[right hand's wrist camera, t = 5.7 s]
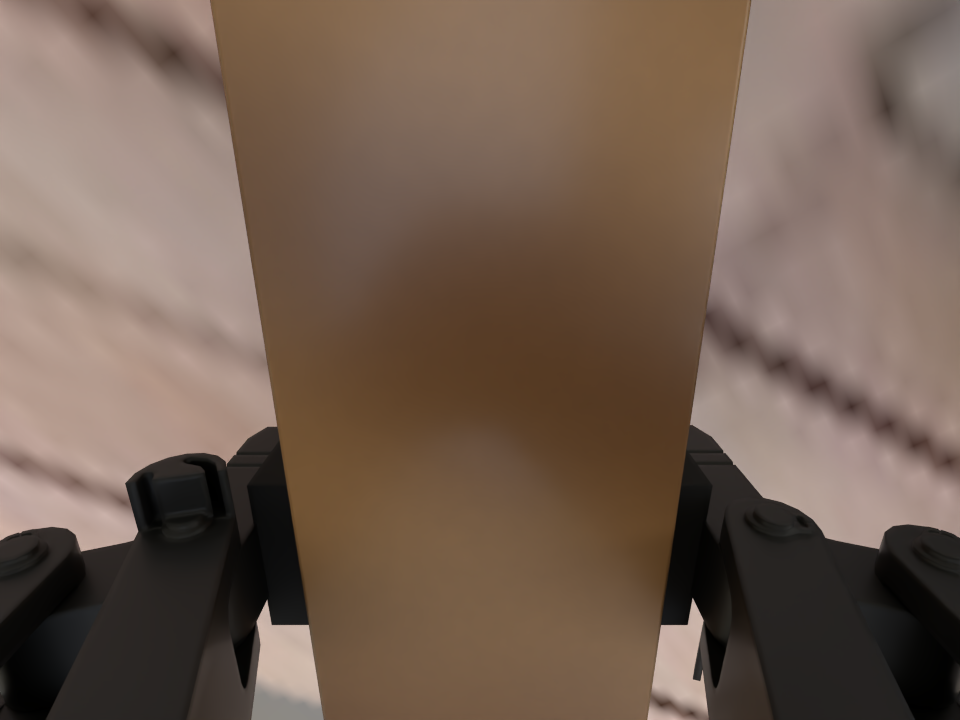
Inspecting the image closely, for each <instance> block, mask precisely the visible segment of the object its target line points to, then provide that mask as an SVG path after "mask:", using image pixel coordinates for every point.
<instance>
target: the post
mask: <svg viewBox="0 0 960 720" xmlns="http://www.w3.org/2000/svg"><path fill="white" fill-rule="evenodd" d="M210 3H211V9H212V15H213V22H214V28H215V34H216V41H217V47H218V53H219V60H220V66H221V72H222V79H223V85H224V91H225V98H226V104H227V110H228V117H229V123H230V129H231V136H232V142H233V148H234V155H235V161H236V167H237V174H238V180H239V186H240V193H241V199H242V205H243V211H244V218H245V224H246V230H247V237H248V243H249V249H250V256H251V262H252V268H253V275H254V281H255V287H256V294H257V300H258V306H259V313H260V319H261V325H262V332H263V338H264V344H265V351H266V357H267V363H268V370H269V376H270V382H271V389H272V395H273V401H274V408H275V414H276V420H277V427H278V433H279V439H280V445H281V452H282V458H283V464H284V471H285V477H286V483H287V490H288V496H289V502H290V509H291V515H292V521H293V528H294V534H295V540H296V547H297V553H298V559H299V566H300V572H301V578H302V585H303V591H304V597H305V604H306V610H307V616H308V623H309V629H310V635H311V642H312V648H313V654H314V661H315V667H316V673H317V679H318V686H319V692H320V698H321V705H322V711H323V717H324V720H647V717H648V710H649V703H650V696H651V689H652V683H653V676H654V669H655V662H656V655H657V648H658V641H659V634H660V627H661V620H662V613H663V606H664V600H665V593H666V586H667V579H668V572H669V565H670V558H671V551H672V544H673V537H674V531H675V524H676V517H677V510H678V503H679V496H680V489H681V482H682V475H683V468H684V461H685V454H686V448H687V441H688V434H689V427H690V420H691V413H692V406H693V399H694V392H695V385H696V378H697V372H698V365H699V358H700V351H701V344H702V337H703V330H704V323H705V316H706V309H707V302H708V296H709V289H710V282H711V275H712V268H713V261H714V254H715V247H716V240H717V233H718V226H719V220H720V213H721V206H722V199H723V192H724V185H725V178H726V171H727V164H728V157H729V150H730V144H731V137H732V130H733V123H734V116H735V109H736V102H737V95H738V88H739V81H740V74H741V68H742V61H743V54H744V47H745V40H746V33H747V26H748V19H749V12H750V5H751V0H210Z"/></svg>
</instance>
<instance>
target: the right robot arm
mask: <svg viewBox="0 0 960 720" xmlns="http://www.w3.org/2000/svg"><path fill="white" fill-rule="evenodd" d="M125 484H126V488H127V492H128V495H129V499H130V502H131V506H132V510H133V513H134V517H135V521H136V524H137V528H138V533H137V535H136V537H135V539H134V541H130V542H127V543H122V544H117V545H112V546H107V547H102V548H97V549H92V550H87V551H82V552H81V551H80V547H79V544H78V541H77V538H76V535H75V534H74V533H72V532H71V531H69V530H68V529H64V528H56V527H49V528H41V529H32V530H27V531H23V532H22V533H16V534H13V535H10V536H8V537H6V538H4V539H3V540H1V541H0V720H251V716H252V708H253V700H254V692H255V684H256V676H257V668H258V660H259V652H260V638H259V632H258V627H257V622H256V621H257V619H258V617H259V615H260V613H261V611H262V609H263V607H264V605H265V603H266V601H267V600H268V606H269V611H270V617H271V622H272V625H309V623H308V616H307V610H306V604H305V597H304V591H303V585H302V578H301V572H300V566H299V559H298V553H297V547H296V540H295V534H294V528H293V521H292V515H291V509H290V502H289V496H288V490H287V483H286V477H285V471H284V464H283V458H282V452H281V445H280V439H279V433H278V427H267V428H265V429H263V430H262V431H260V432H258V433H257V434H255V435H253V436H252V437H250V438H248V439H247V441H246V442H245V443H244V444H243V445H242V447H241V448H240V449H239V450H238V451H237V455H234V456H233V457H232V459H231V460H230V461H229V462H228V463H227V467H226V462H225V461H224V460H223V459H221V458H220V457H219V456H216V455H211V454H206V453H194V454H184V455H179V456H174V457H169V458H166V459H164V460H161V461H158V462H156V463H153V464H150V465H148V466H147V467H145V468H143V469H142V470H140V471H138V472H137V473H135V474H134V475H133V476H132V477H131V478H130V479H129V480H128V481H127V482H126V483H125ZM692 598H693V599H694V601H695V603H696V605H697V607H698V609H699V611H700V613H701V616H702V618H703V620H704V622H703V627H702V632H701V637H700V642H699V647H698V653H697V658H696V663H695V668H694V675H693V679H694V680H698V681H700V680H701V675H702V670H703V675H704V683H705V691H706V699H707V707H708V715H709V720H960V538H959V537H957V536H956V535H954V534H952V533H949V532H946V531H943V530H941V531H940V530H938V529H936V528H931V527H924V526H916V525H900V526H893V527H891V528H890V529H889V530H887V531H886V532H885V533H884V536H883V539H882V542H881V545H880V548H879V549H875V548H870V547H865V546H860V545H855V544H850V543H845V542H839V541H835V540H831V539H827V538H825V536H824V534H823V532H822V531H821V529H820V528H819V527H818V526H817V524H816V523H815V522H814V521H813V520H812V519H811V518H810V517H808V516H807V515H805V514H804V513H802V512H801V511H799V510H798V509H796V508H793V507H791V506H789V505H786V504H784V503H782V502H778V501H774V500H770V499H766V498H763V497H762V496H761V495H760V494H759V493H758V491H757V490H756V489H755V488H754V487H753V485H752V484H751V483H750V482H749V481H748V479H747V478H746V477H745V476H744V475H743V474H742V472H741V471H740V470H739V469H738V468H737V466H736V465H733V462H732V460H731V459H730V458H729V457H728V456H727V455H726V453H723V450H722V449H721V447H720V446H719V445H718V444H717V443H716V442H715V440H714V439H713V438H712V437H711V436H709V435H708V434H706V433H704V432H703V431H701V430H699V429H698V428H696V427H694V426H693V425H690V427H689V434H688V441H687V448H686V454H685V461H684V468H683V475H682V482H681V489H680V496H679V503H678V510H677V517H676V524H675V531H674V537H673V544H672V551H671V558H670V565H669V572H668V579H667V586H666V593H665V600H664V606H663V613H662V620H661V625H688V620H689V614H690V609H691V603H692Z"/></svg>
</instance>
